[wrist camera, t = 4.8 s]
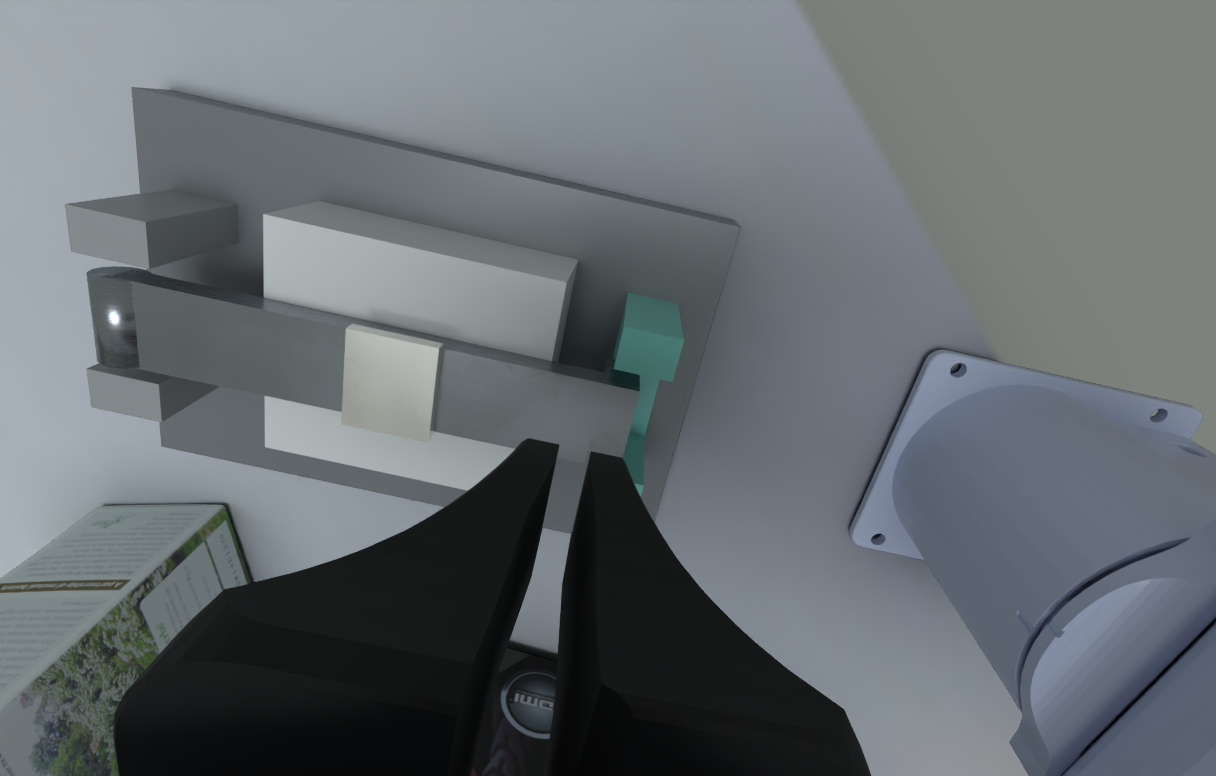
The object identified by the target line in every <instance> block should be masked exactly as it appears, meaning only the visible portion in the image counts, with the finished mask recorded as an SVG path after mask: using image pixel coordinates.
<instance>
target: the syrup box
mask: <svg viewBox="0 0 1216 776" xmlns="http://www.w3.org/2000/svg"><path fill="white" fill-rule="evenodd" d="M250 583H251V580H250V577H249V575H248V571H247V568H246V566H245V563H244V560H243V557H242V554H241V551H240V548H239V546H238V543H237V540H236V536H235V533H234V530H233V527H232V525H231V521H230V518H229V516H228V513H227V511H226V508H225V507H224V506H223V505H206V504H164V505H118V506H102V507H99V508H97V509H95V510H93V511H92V512H91V513H89V514H88V515H86V516H85V517H84V518H82V519H81V520H80V521H78V522H77V523H75V524H74V525H73V526H71V527H70V528H69V529H67V530H66V531H65V532H63V533H62V534H61V535H59V536H58V537H57V538H55V539H54V540H53V541H51V542H50V543H49V544H47V545H46V546H45V547H43V548H42V549H41V550H39V551H38V552H37V553H35V554H34V555H33V556H31V557H30V558H28V559H27V560H26V561H24V562H23V563H21V564H20V565H19V566H17V567H16V568H14V569H13V570H11V571H10V572H9V573H7V574H6V575H4V576H3V577H2V578H0V776H119V771H118V765H117V758H116V752H115V745H114V739H113V731H114V713H115V711H116V709H117V707H118V705H119V703H120V701H121V699H122V697H123V695H124V694H125V692H126V691H127V690H128V689H129V687H130V686H131V685H132V684H133V683H134V682H135V681H136V680H137V678H138V677H139V676H140V675H141V674H142V673H143V672H144V671H145V670H146V668H147V667H148V666H149V665H150V664H151V663H152V662H153V661H154V659H155V658H156V657H157V656H158V655H159V654H160V653H161V652H162V651H163V649H164V648H165V647H166V646H167V645H168V644H169V643H170V642H171V640H172V639H173V638H174V637H175V636H176V635H177V634H178V633H179V632H180V631H181V630H182V629H183V628H184V627H185V626H186V625H187V624H188V623H189V622H190V621H191V620H192V619H193V617H195V616H196V615H197V614H198V613H199V612H200V611H201V610H202V609H203V608H205V607H206V606H207V605H208V604H209V603H210V602H211V601H212V600H214V599H215V598H216V597H217V596H218V595H219V594H220V593H221V592H222V591H223V590H224V589H228V588H232V587H237V586H242V585H246V584H250Z"/></svg>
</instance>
